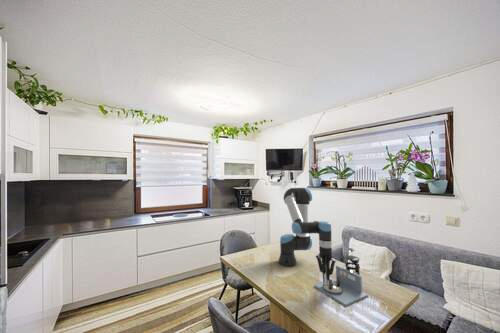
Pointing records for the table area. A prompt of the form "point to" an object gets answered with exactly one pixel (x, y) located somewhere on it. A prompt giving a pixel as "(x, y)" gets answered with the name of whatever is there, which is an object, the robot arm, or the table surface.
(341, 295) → the stand
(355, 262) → the french press
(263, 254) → the table surface
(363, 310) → the table surface
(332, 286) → the capstan
